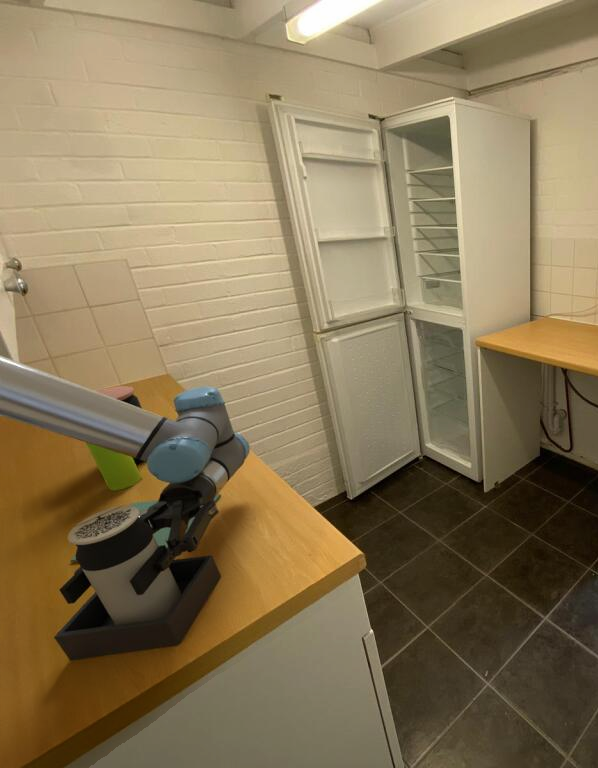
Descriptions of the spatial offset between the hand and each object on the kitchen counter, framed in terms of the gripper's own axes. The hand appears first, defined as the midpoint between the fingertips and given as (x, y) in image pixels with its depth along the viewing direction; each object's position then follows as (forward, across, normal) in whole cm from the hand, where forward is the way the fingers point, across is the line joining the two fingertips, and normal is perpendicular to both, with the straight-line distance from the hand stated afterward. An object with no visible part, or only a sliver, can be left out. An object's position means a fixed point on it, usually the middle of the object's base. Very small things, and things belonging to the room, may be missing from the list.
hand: (102, 592), depth 57 cm
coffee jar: (-56, +35, -11) cm, 67 cm away
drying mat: (-27, +13, -10) cm, 32 cm away
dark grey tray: (-5, 0, -10) cm, 12 cm away
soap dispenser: (-44, +29, -11) cm, 54 cm away
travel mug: (-5, 0, -10) cm, 11 cm away
